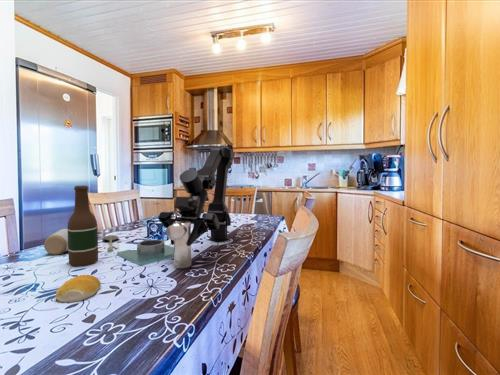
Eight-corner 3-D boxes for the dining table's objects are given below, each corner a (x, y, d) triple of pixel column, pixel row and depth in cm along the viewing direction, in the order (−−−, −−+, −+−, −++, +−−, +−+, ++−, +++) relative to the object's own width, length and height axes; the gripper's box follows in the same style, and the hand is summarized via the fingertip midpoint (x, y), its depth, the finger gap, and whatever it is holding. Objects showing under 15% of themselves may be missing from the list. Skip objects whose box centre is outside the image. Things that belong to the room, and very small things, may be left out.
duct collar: (159, 245, 102) (159, 235, 102) (184, 253, 92) (184, 242, 92) (117, 255, 90) (116, 243, 90) (140, 265, 80) (140, 252, 80)
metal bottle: (179, 261, 82) (178, 219, 82) (194, 263, 81) (193, 220, 81) (166, 270, 75) (165, 224, 74) (182, 272, 74) (181, 225, 73)
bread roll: (104, 284, 67) (103, 269, 67) (91, 301, 58) (91, 283, 58) (67, 287, 65) (66, 271, 65) (48, 305, 56) (47, 287, 56)
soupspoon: (119, 240, 115) (102, 242, 112) (119, 232, 115) (101, 234, 112) (120, 251, 95) (99, 254, 92) (119, 242, 95) (98, 245, 92)
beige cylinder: (42, 256, 89) (41, 233, 89) (55, 249, 97) (54, 228, 97) (77, 255, 91) (76, 233, 91) (87, 248, 99) (86, 228, 99)
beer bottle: (84, 268, 78) (81, 186, 77) (62, 266, 80) (59, 186, 78) (104, 259, 86) (101, 185, 84) (83, 258, 87) (80, 185, 86)
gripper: (160, 186, 84) (139, 228, 74) (216, 187, 80) (201, 231, 70) (173, 207, 92) (156, 248, 82) (224, 209, 88) (212, 252, 78)
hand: (180, 244), depth 78 cm, fingers closed on metal bottle, 5 cm apart
